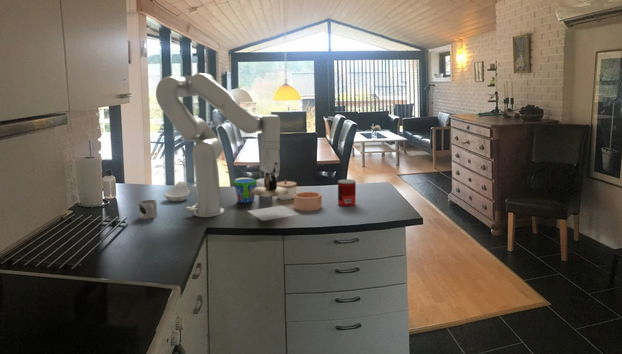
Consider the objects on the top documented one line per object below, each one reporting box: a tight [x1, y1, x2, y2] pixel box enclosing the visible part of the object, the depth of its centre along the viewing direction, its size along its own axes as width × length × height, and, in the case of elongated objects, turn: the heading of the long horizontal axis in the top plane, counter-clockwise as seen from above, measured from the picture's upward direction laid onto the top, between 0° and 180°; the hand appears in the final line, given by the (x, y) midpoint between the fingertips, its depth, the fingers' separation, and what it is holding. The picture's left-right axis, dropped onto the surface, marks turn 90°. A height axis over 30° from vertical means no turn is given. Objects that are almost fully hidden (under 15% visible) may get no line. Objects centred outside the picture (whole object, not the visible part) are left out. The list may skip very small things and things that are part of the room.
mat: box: [247, 205, 301, 222], centre depth 184 cm, size 17×17×1 cm
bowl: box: [293, 191, 323, 212], centre depth 192 cm, size 12×12×6 cm
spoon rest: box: [163, 180, 192, 203], centre depth 216 cm, size 24×12×7 cm, turn 3°
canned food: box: [337, 178, 357, 207], centre depth 197 cm, size 8×8×11 cm
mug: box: [138, 199, 158, 220], centre depth 180 cm, size 10×7×7 cm
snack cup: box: [233, 178, 258, 204], centre depth 204 cm, size 16×10×10 cm
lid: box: [253, 174, 288, 198], centre depth 182 cm, size 15×15×7 cm
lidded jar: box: [276, 179, 298, 201], centre depth 208 cm, size 11×11×9 cm
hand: (270, 188), depth 182 cm, fingers closed on lid, 4 cm apart
